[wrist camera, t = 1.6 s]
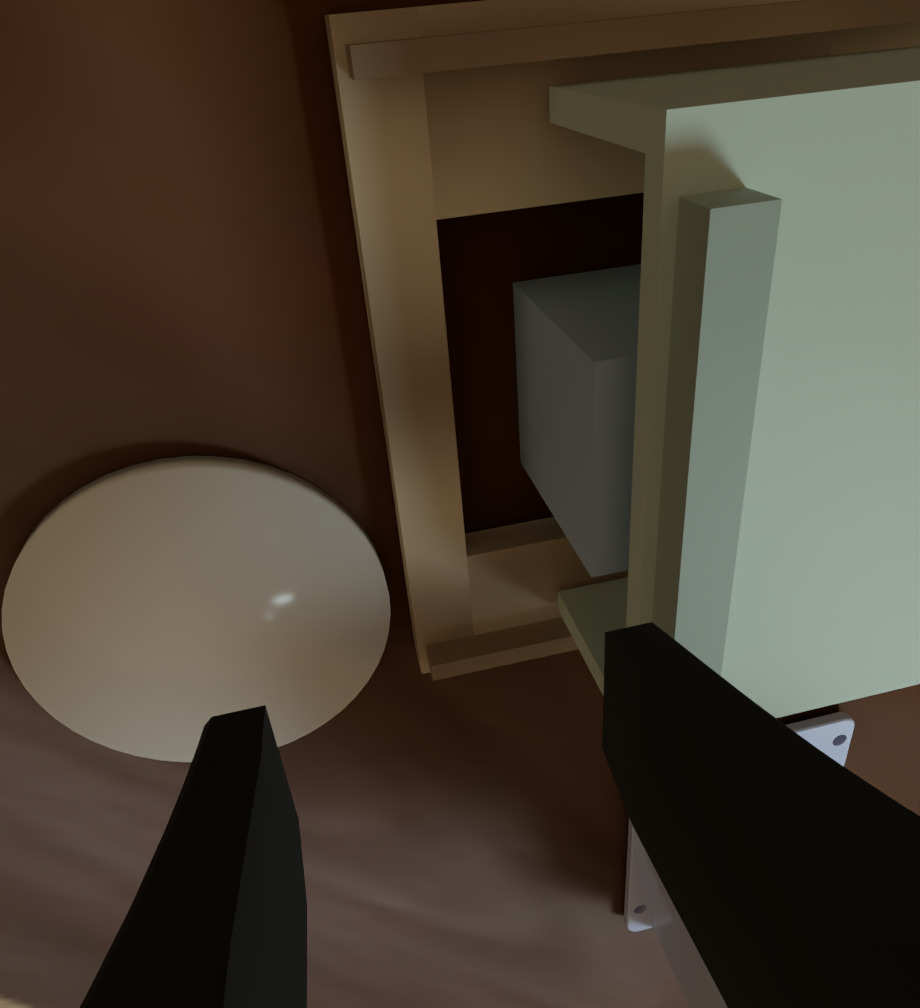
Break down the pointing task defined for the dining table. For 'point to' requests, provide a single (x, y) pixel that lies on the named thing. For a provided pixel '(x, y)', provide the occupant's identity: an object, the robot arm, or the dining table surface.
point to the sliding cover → (772, 373)
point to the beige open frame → (500, 187)
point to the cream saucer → (194, 604)
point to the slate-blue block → (581, 404)
